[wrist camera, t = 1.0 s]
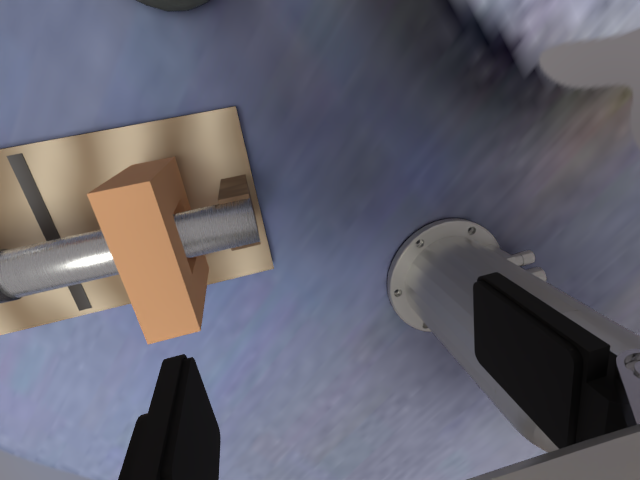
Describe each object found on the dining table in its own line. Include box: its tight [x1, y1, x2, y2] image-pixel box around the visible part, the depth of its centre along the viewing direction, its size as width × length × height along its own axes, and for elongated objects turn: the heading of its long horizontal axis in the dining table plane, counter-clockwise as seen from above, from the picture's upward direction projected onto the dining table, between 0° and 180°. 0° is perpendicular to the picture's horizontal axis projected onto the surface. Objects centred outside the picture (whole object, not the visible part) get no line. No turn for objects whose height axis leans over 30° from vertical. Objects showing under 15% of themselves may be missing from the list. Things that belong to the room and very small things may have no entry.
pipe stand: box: [0, 106, 274, 335], centre depth 28 cm, size 24×14×8 cm, turn 100°
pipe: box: [0, 198, 260, 303], centre depth 24 cm, size 23×3×3 cm, turn 100°
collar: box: [87, 157, 209, 344], centre depth 25 cm, size 3×9×9 cm, turn 10°
